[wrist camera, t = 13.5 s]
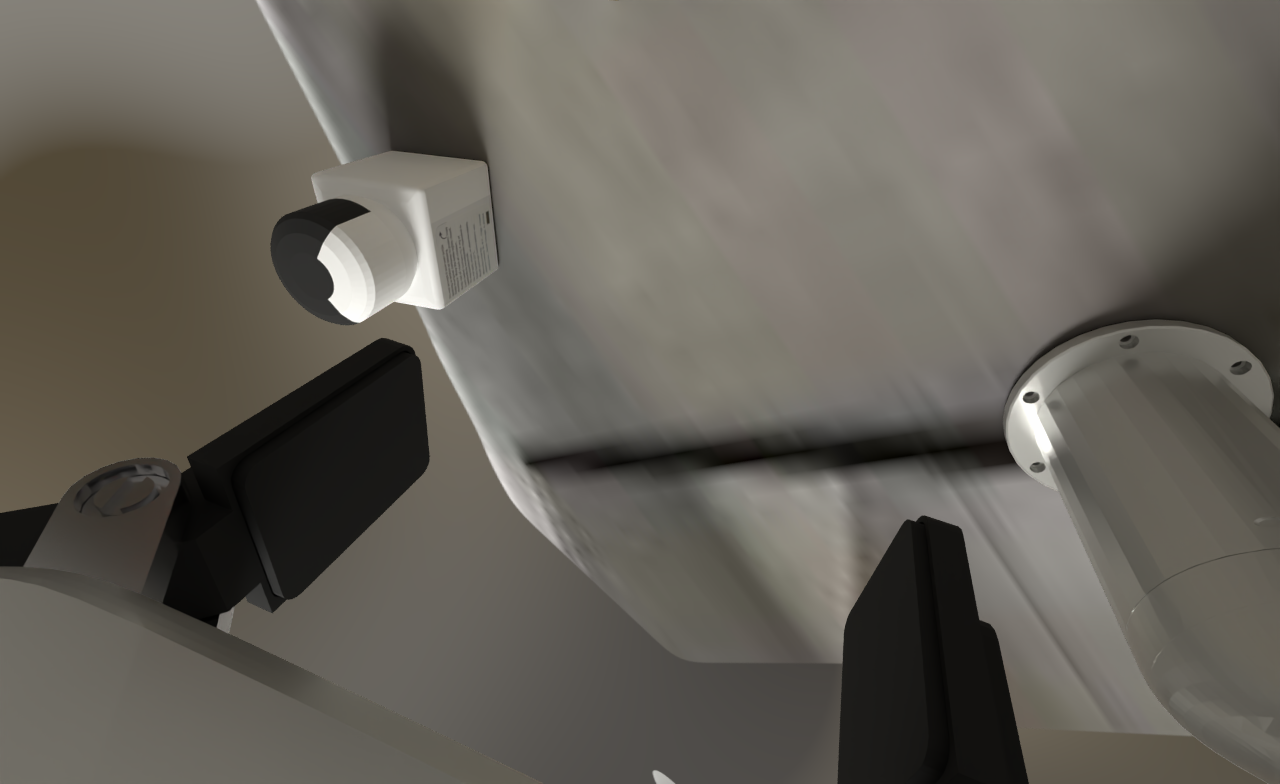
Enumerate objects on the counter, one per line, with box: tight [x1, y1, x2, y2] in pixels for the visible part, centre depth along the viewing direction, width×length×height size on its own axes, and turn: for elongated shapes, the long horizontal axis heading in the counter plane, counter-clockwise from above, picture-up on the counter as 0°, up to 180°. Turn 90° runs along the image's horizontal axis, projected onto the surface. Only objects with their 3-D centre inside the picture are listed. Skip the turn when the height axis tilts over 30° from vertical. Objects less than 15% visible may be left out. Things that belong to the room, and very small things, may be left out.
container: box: [271, 151, 498, 325], centre depth 36 cm, size 8×8×13 cm
